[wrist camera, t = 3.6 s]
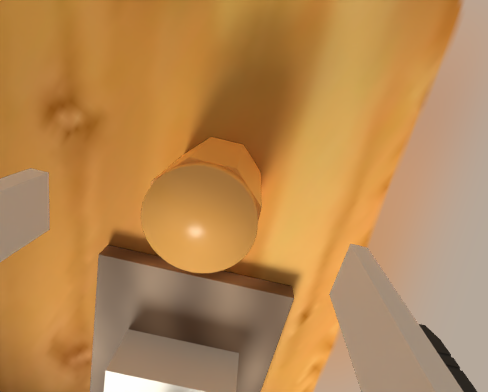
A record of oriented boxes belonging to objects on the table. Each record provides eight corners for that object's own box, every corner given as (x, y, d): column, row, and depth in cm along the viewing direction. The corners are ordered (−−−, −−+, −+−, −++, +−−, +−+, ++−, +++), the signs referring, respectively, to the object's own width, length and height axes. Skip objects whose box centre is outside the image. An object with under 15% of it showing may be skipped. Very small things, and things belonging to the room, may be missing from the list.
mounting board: (94, 427, 32) (86, 442, 31) (108, 245, 24) (98, 254, 23) (232, 455, 33) (231, 471, 31) (291, 286, 25) (294, 298, 23)
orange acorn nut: (176, 204, 23) (135, 259, 15) (188, 131, 21) (147, 153, 13) (248, 220, 23) (242, 283, 15) (266, 149, 21) (270, 182, 13)
